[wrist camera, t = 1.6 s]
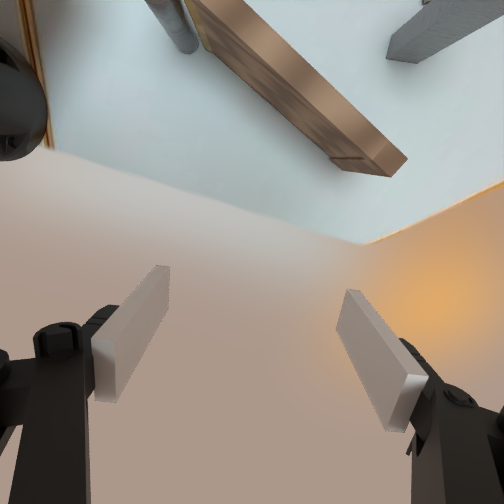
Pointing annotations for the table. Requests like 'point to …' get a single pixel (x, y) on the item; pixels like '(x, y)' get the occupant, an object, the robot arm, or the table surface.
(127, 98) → the table surface
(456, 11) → the post
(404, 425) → the robot arm
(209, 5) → the gate
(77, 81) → the table surface
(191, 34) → the hinge post
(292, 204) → the table surface
